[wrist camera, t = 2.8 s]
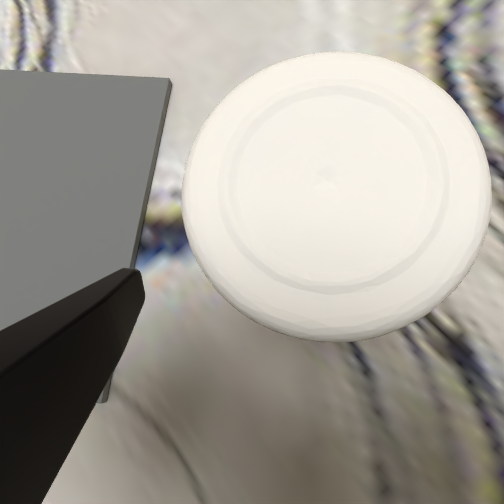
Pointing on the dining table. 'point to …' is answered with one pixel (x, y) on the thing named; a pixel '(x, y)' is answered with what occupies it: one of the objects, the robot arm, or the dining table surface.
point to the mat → (72, 181)
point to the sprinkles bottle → (336, 196)
